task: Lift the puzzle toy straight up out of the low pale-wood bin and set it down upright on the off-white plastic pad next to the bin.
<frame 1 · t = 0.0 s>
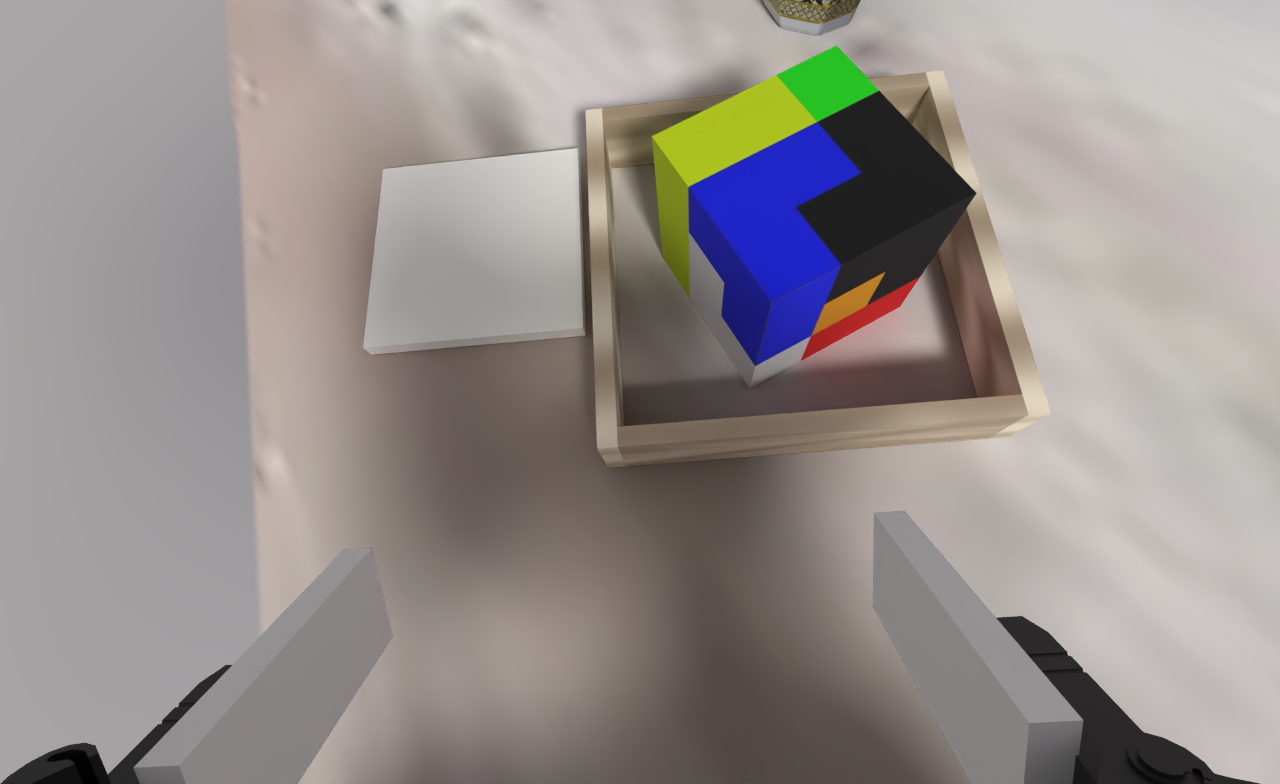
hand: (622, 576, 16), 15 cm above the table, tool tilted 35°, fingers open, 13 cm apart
bin: (777, 280, 35), on the table
pad: (481, 251, 38), on the table
puzzle toy: (776, 283, 36), resting in bin
ceramic cup: (820, 17, 43), on the table
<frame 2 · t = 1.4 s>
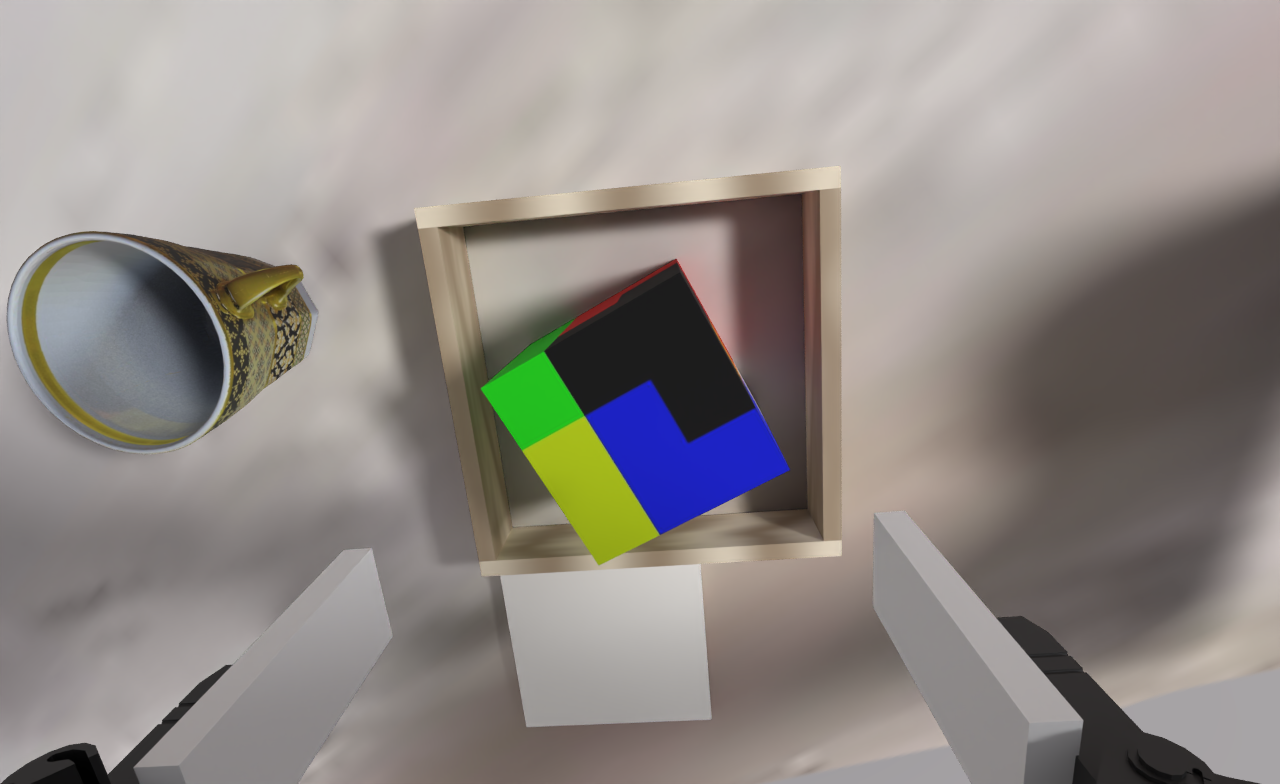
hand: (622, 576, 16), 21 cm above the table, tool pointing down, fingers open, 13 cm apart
bin: (644, 375, 36), on the table
pad: (609, 634, 41), on the table
puzzle toy: (644, 373, 36), resting in bin
ceramic cup: (287, 304, 36), on the table
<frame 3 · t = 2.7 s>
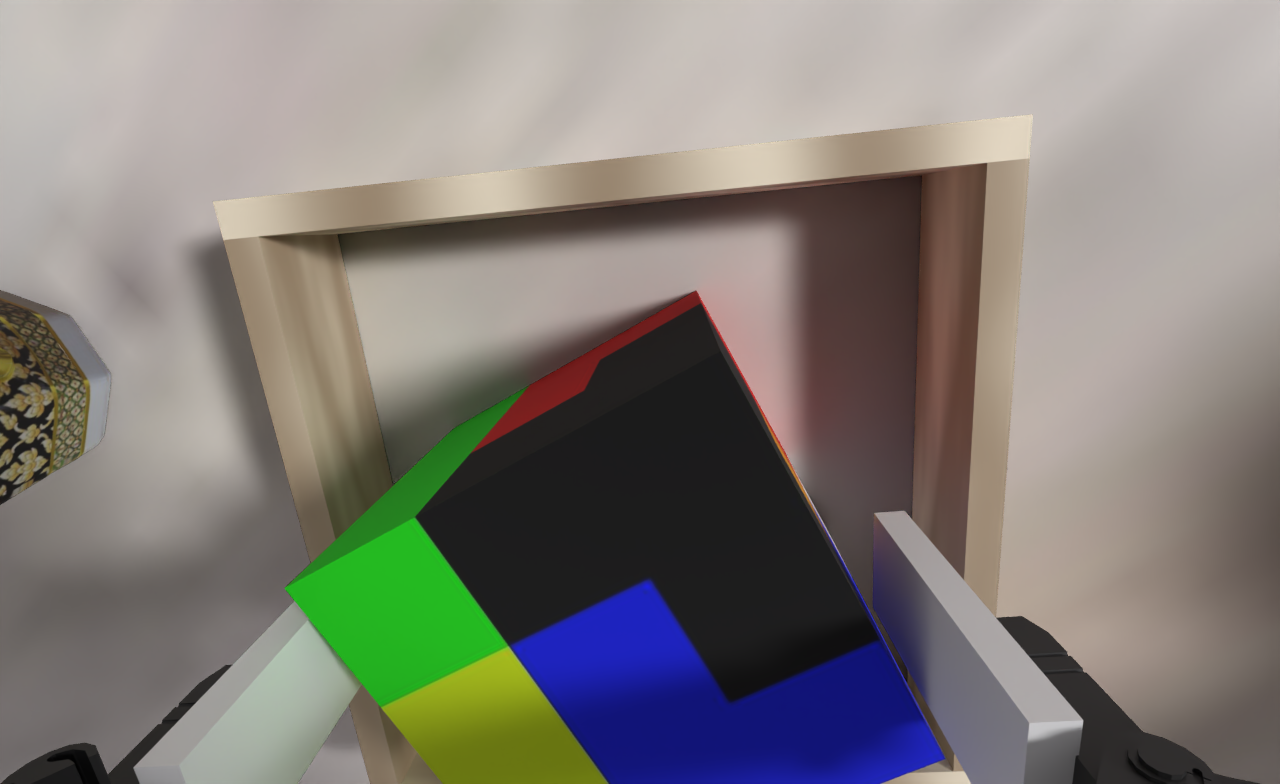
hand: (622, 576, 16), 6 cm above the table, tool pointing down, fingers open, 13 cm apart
bin: (646, 477, 22), on the table
puzzle toy: (641, 475, 22), resting in bin
ceramic cup: (62, 362, 22), on the table
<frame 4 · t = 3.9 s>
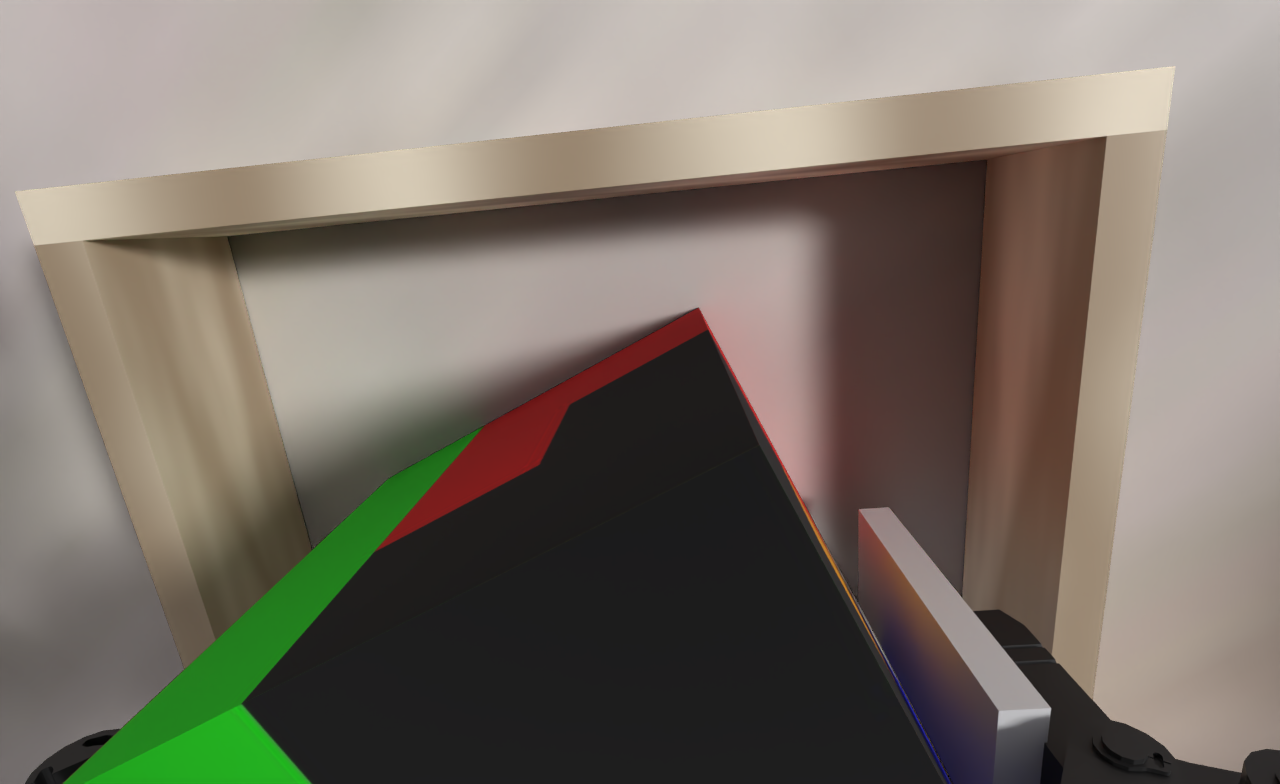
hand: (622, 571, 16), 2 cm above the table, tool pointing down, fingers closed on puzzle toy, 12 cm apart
bin: (630, 541, 17), on the table
puzzle toy: (627, 538, 18), resting in bin, touching gripper
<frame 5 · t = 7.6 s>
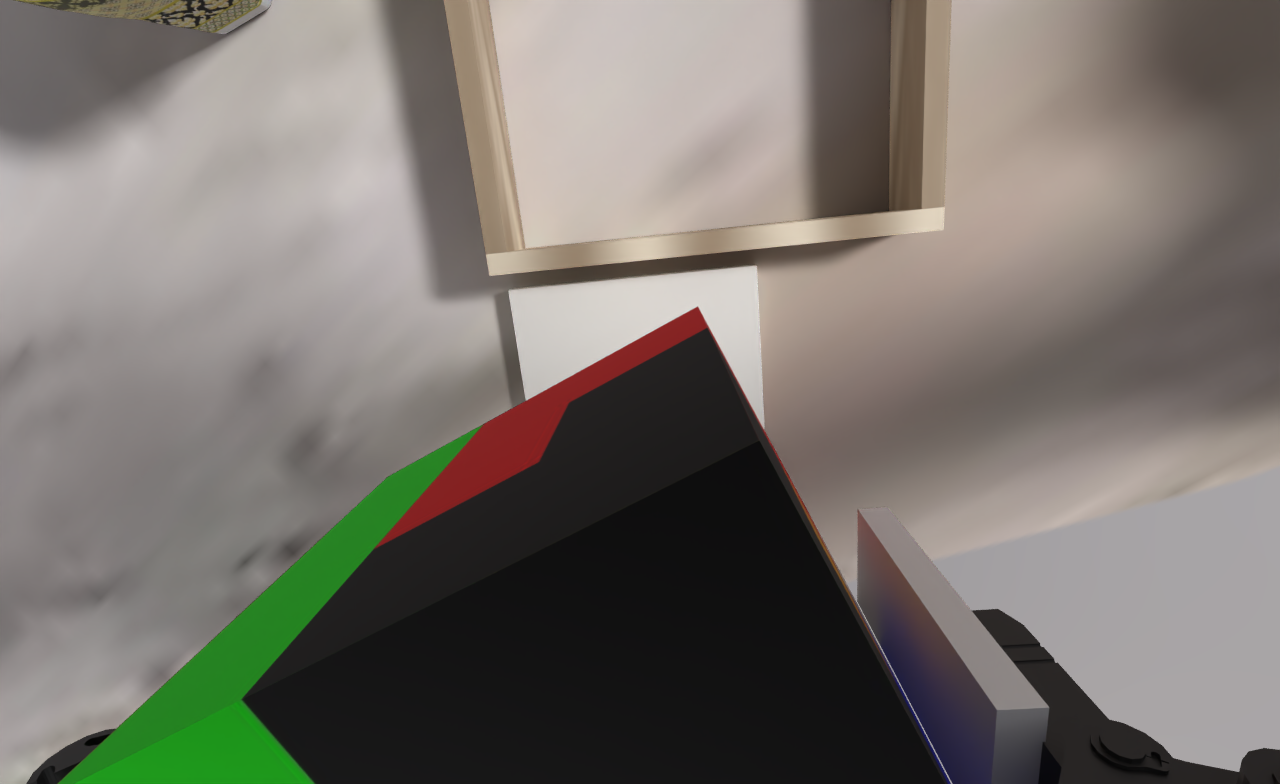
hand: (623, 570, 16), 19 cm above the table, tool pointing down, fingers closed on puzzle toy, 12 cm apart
bin: (689, 26, 29), on the table
pad: (643, 392, 34), on the table
puzzle toy: (626, 536, 18), point 17 cm above the table, touching gripper
when the fingers open (4 cm above the table, at t = 11.5 s): puzzle toy drops 1 cm, resting on pad.
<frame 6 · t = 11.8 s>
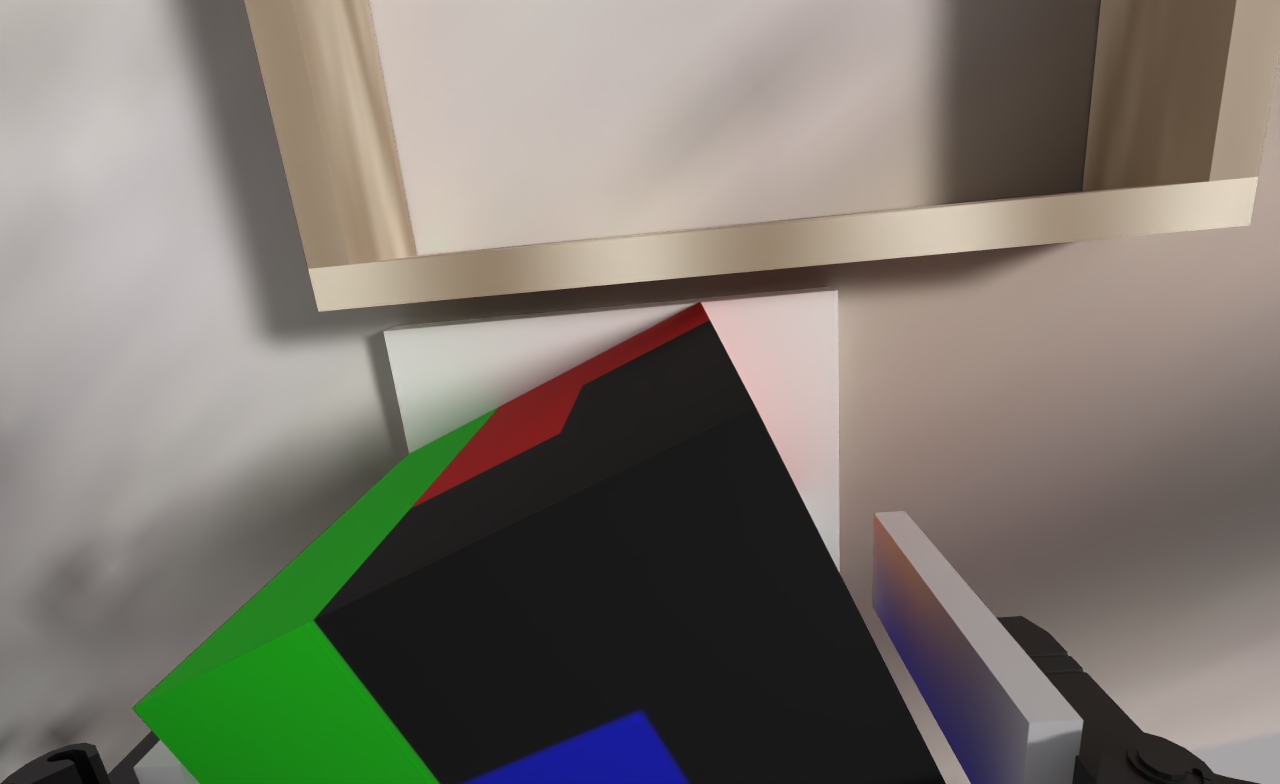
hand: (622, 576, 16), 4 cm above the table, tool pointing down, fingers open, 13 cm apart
pad: (630, 503, 20), on the table
puzzle toy: (628, 515, 19), point 1 cm above the table, touching pad
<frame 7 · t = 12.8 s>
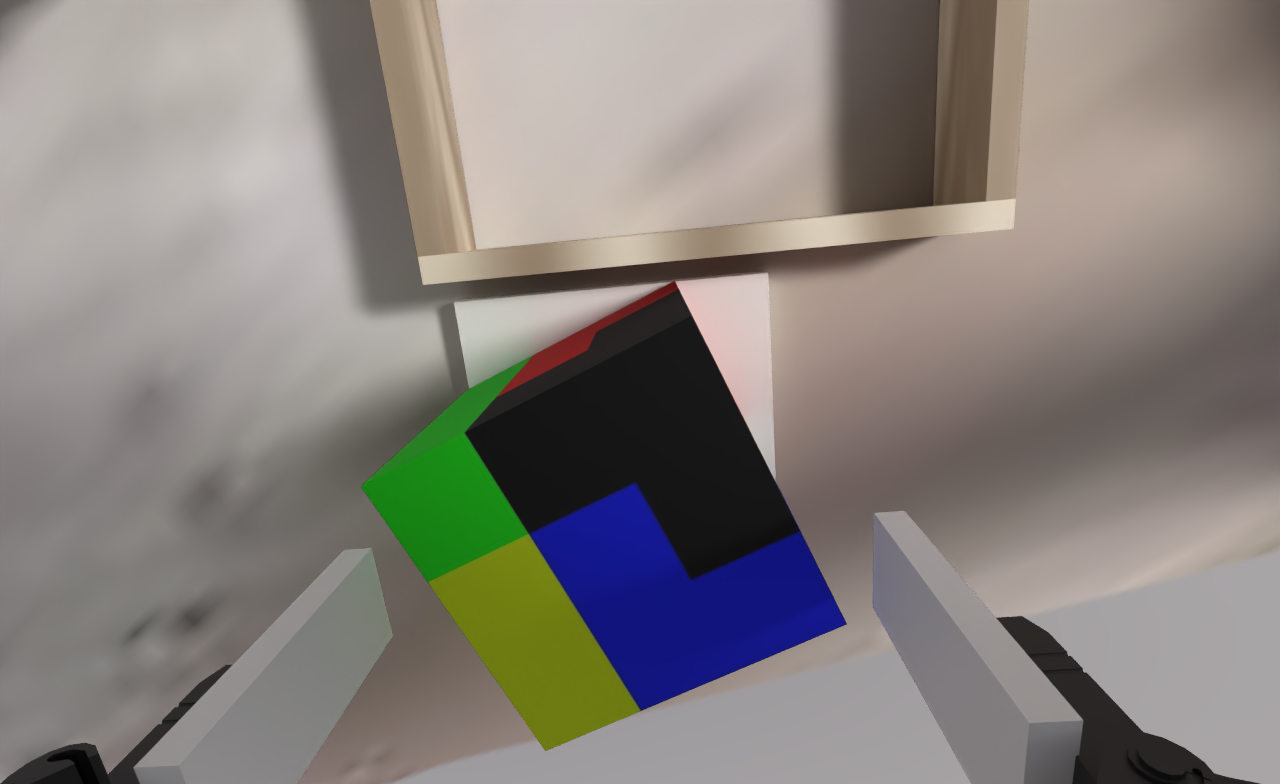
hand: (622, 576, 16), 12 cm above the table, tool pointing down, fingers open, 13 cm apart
pad: (626, 429, 27), on the table
puzzle toy: (624, 434, 27), point 1 cm above the table, touching pad
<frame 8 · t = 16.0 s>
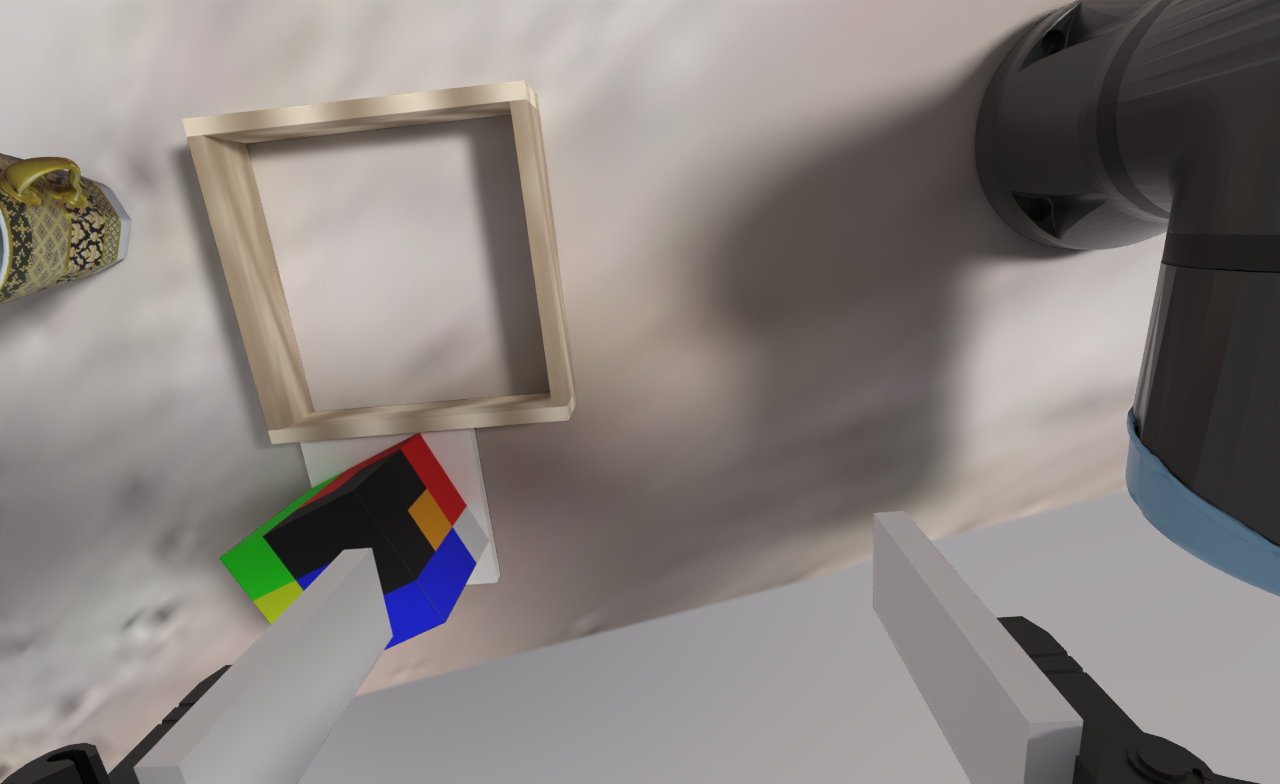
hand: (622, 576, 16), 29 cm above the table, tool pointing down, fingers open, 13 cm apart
bin: (411, 273, 42), on the table
pad: (406, 508, 47), on the table
puzzle toy: (402, 513, 47), point 1 cm above the table, touching pad
ceramic cup: (104, 214, 42), on the table
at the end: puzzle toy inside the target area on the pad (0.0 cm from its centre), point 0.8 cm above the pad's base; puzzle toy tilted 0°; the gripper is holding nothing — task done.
